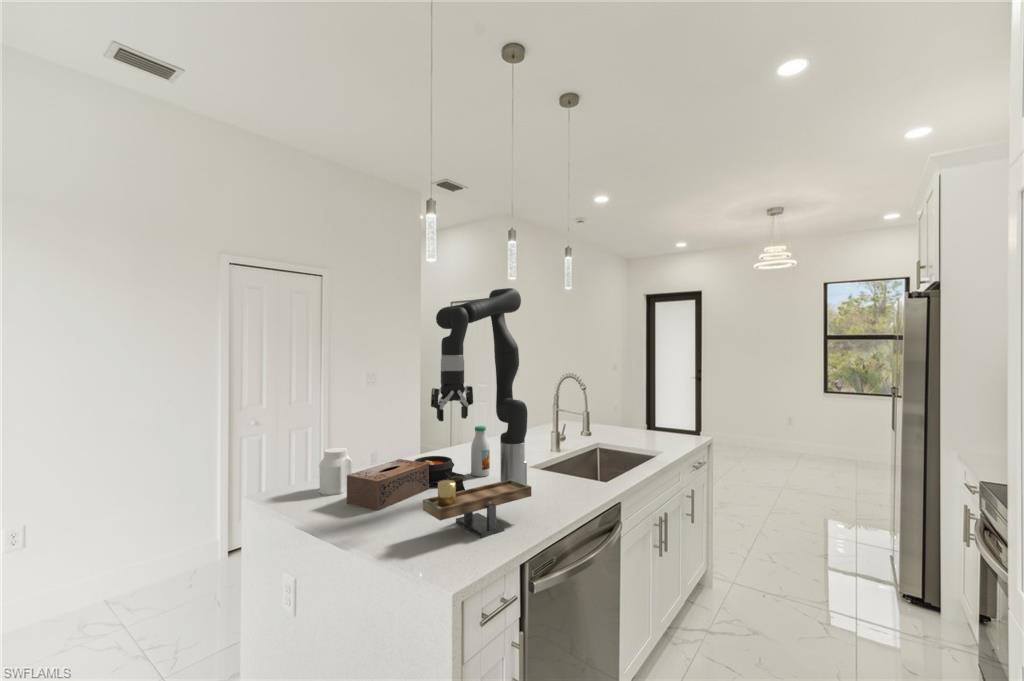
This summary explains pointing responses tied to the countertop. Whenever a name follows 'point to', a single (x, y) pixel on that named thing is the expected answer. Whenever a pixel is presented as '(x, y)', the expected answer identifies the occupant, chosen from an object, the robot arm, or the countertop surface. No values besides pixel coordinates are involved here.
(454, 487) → the cylinder
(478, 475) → the milk bottle
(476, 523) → the pivot stand
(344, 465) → the jar
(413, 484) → the tissue box cover
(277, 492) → the countertop surface
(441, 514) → the beam
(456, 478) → the mate gourd
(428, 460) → the casserole
